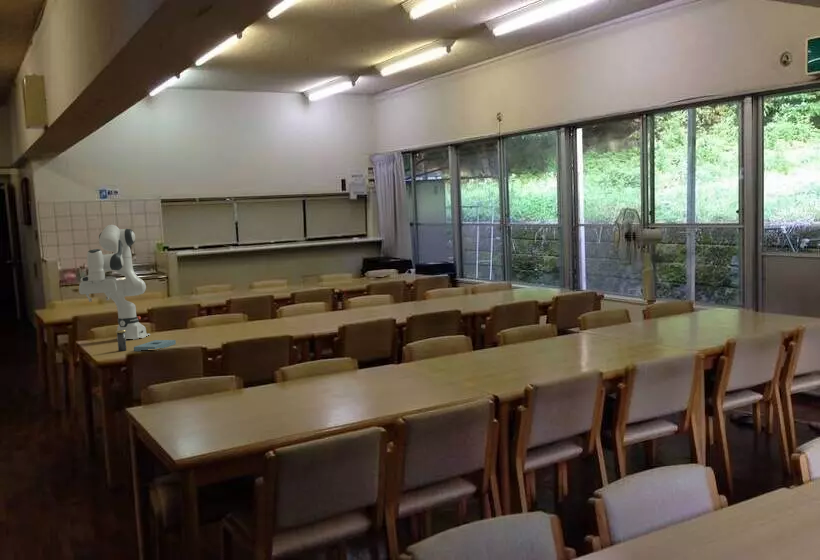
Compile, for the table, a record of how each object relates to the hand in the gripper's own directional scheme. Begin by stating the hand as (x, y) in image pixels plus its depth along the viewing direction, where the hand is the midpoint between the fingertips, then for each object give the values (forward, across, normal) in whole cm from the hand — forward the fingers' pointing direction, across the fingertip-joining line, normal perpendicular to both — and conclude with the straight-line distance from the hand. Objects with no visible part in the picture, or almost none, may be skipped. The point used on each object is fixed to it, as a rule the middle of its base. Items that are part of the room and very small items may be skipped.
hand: (99, 300), depth 423 cm
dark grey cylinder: (+30, -10, 0) cm, 32 cm away
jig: (+31, -28, 0) cm, 42 cm away
